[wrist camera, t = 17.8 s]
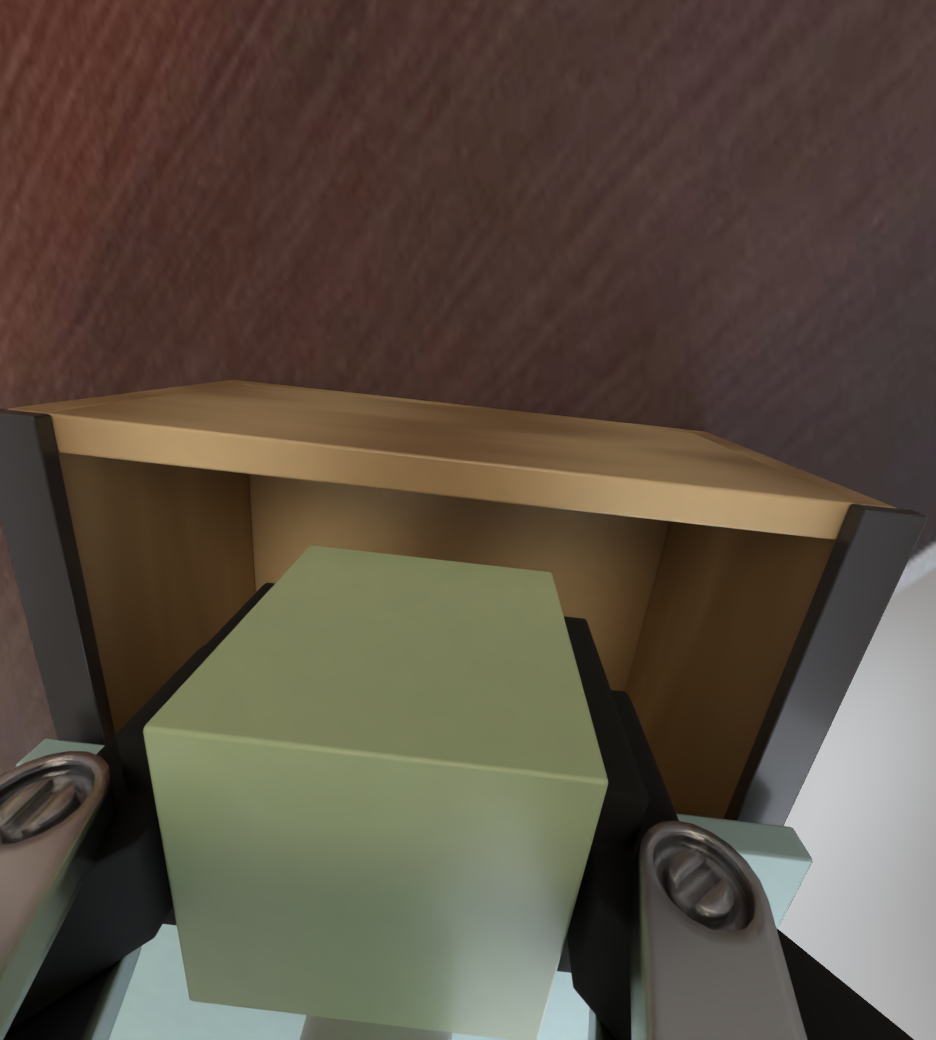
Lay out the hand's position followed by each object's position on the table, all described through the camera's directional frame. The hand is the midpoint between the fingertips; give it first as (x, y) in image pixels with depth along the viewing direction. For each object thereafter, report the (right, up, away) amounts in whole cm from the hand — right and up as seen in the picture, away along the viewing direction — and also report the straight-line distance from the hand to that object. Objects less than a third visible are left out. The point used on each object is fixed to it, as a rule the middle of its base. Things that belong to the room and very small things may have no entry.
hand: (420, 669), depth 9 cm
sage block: (0, 0, 0) cm, 0 cm away
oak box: (0, +1, +10) cm, 11 cm away
